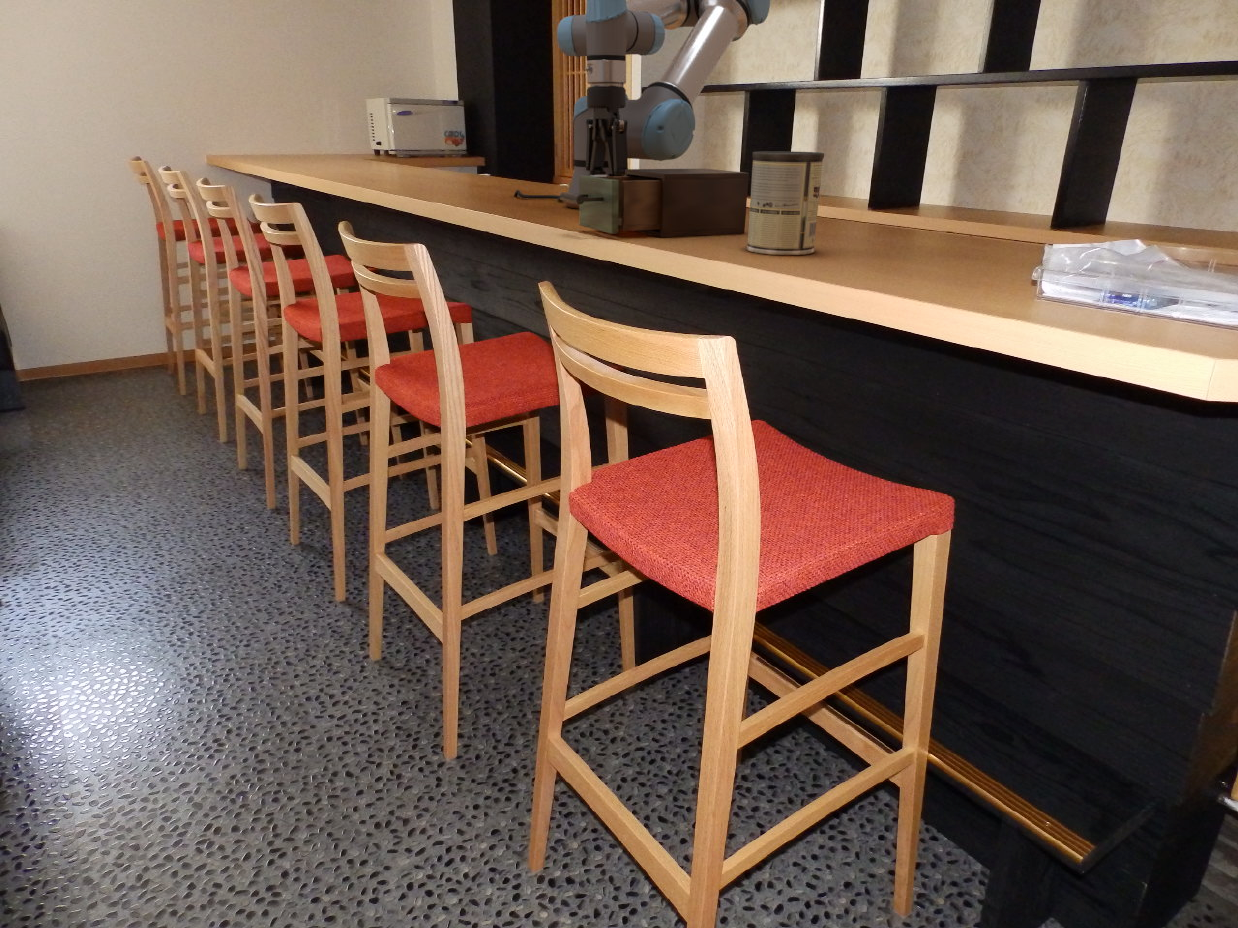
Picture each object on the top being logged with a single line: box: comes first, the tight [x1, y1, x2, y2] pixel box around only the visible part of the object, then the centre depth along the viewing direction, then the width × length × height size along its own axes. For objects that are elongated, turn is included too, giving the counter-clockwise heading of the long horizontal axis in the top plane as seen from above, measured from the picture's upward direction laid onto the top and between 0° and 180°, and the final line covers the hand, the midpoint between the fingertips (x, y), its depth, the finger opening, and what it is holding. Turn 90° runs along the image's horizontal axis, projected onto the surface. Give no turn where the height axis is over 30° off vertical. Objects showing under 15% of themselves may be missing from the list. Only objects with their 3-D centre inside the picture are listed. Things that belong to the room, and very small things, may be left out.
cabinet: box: [625, 168, 750, 239], centre depth 148 cm, size 17×14×10 cm
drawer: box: [559, 175, 662, 235], centre depth 143 cm, size 20×13×8 cm, turn 117°
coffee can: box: [746, 150, 825, 256], centre depth 125 cm, size 10×10×14 cm
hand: (606, 210), depth 170 cm, fingers closed on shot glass, 7 cm apart
